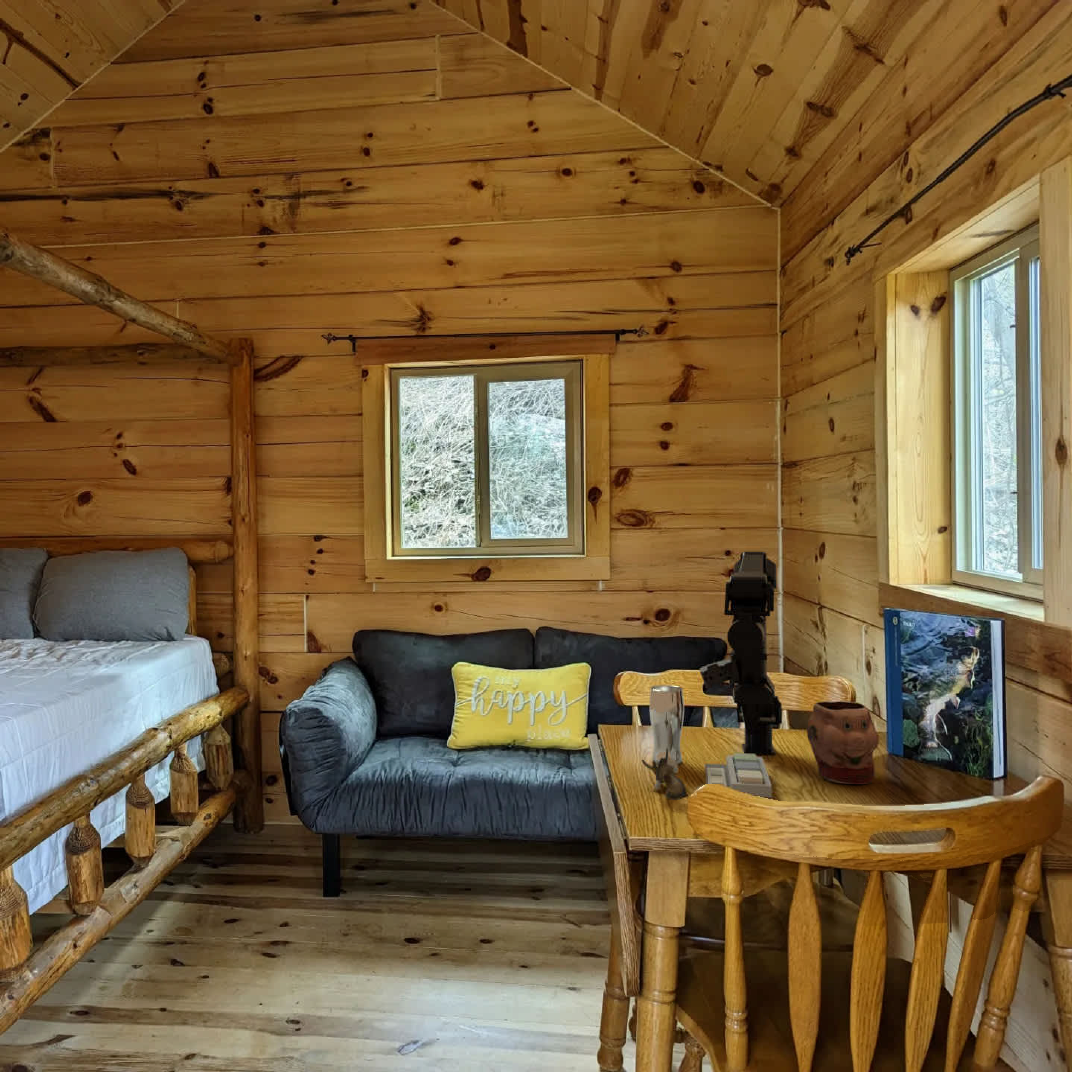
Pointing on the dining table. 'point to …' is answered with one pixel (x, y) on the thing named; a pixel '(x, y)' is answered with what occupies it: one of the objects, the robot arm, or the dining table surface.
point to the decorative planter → (843, 741)
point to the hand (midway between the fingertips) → (749, 734)
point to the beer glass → (666, 721)
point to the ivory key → (750, 776)
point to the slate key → (747, 766)
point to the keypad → (730, 778)
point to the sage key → (744, 757)
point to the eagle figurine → (667, 778)
